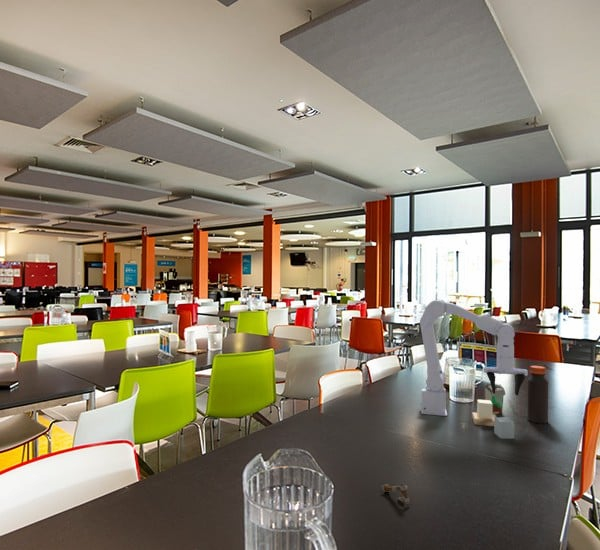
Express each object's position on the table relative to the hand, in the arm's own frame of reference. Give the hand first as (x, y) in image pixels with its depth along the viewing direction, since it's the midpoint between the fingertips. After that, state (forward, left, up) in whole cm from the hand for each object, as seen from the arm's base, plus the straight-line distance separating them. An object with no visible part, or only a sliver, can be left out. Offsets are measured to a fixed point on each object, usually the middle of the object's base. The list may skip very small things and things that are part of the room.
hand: (505, 393), depth 154 cm
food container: (-1, +11, -11) cm, 15 cm away
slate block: (-3, -15, -10) cm, 19 cm away
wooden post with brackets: (-36, -67, -11) cm, 76 cm away
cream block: (-7, -2, -8) cm, 11 cm away
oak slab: (-7, -2, -11) cm, 13 cm away
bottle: (+12, +5, -11) cm, 17 cm away
